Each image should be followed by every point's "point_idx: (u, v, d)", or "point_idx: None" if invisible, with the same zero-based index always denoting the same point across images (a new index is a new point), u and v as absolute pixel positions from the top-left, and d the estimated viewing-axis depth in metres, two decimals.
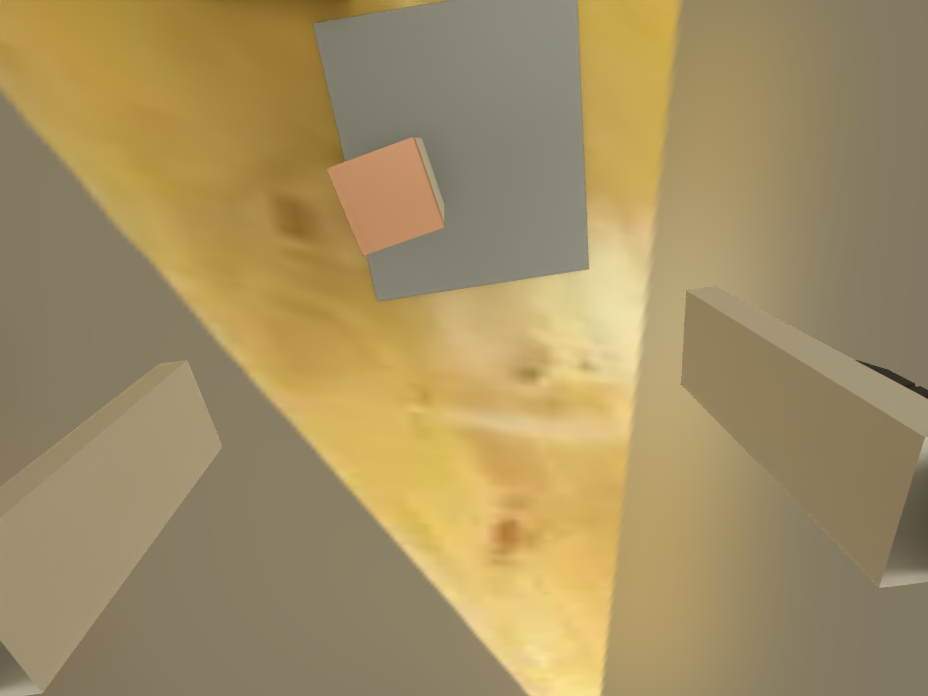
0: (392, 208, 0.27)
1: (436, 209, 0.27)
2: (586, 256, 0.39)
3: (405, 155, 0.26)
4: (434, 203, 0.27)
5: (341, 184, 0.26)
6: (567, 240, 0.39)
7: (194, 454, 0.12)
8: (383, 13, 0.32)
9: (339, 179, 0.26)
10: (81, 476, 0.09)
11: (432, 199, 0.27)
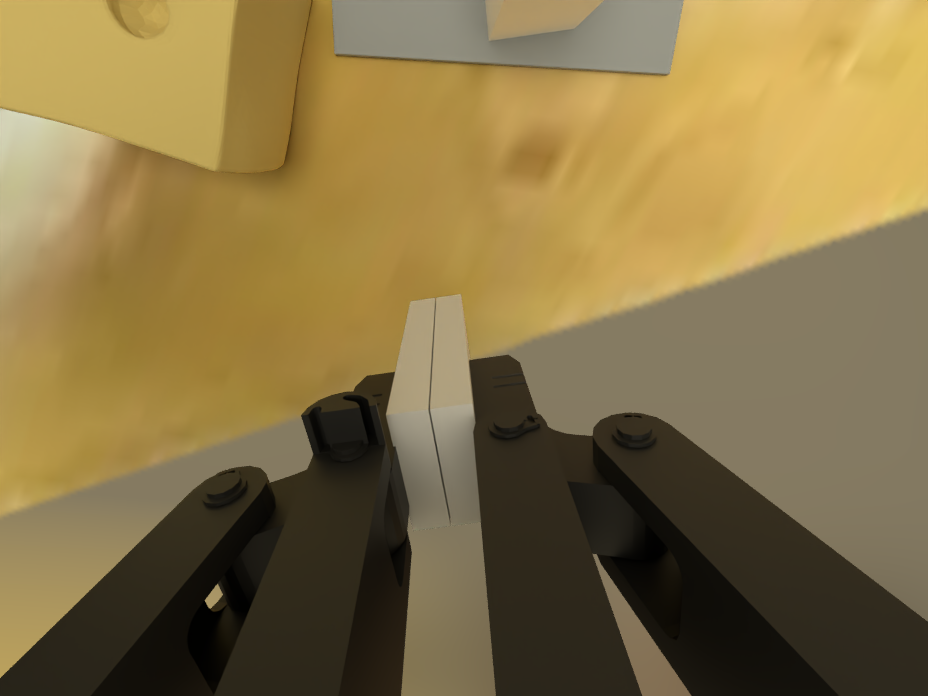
0: None
1: None
2: None
3: None
4: None
5: None
6: None
7: None
8: None
9: None
10: None
11: None
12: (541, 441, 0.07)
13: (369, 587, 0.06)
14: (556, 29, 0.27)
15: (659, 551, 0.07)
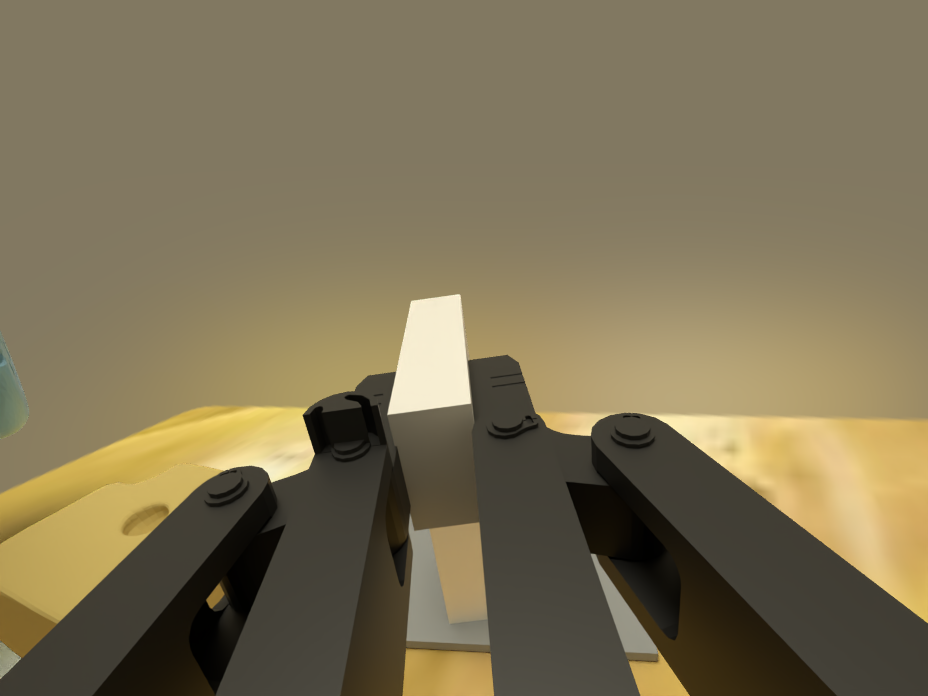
0: None
1: None
2: None
3: None
4: None
5: None
6: None
7: None
8: None
9: None
10: None
11: None
12: (540, 441, 0.07)
13: (370, 587, 0.06)
14: None
15: (657, 551, 0.07)
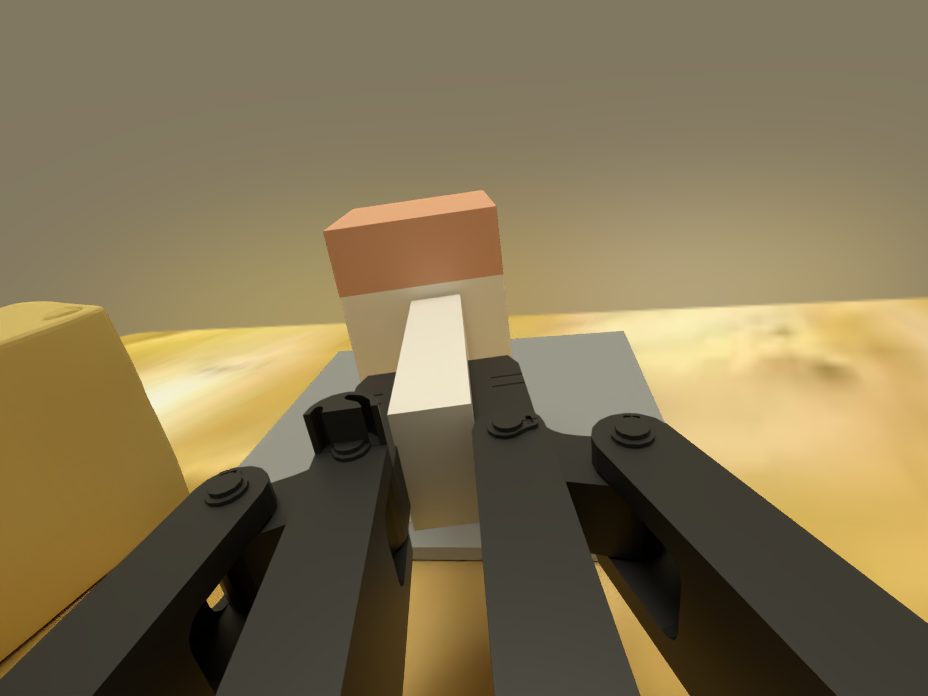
0: (431, 204, 0.16)
1: (454, 194, 0.18)
2: (606, 333, 0.31)
3: (369, 208, 0.18)
4: None
5: (359, 223, 0.14)
6: (584, 344, 0.30)
7: None
8: (240, 466, 0.23)
9: (350, 224, 0.14)
10: None
11: (439, 196, 0.18)
12: (539, 441, 0.07)
13: (371, 587, 0.06)
14: None
15: (657, 551, 0.07)
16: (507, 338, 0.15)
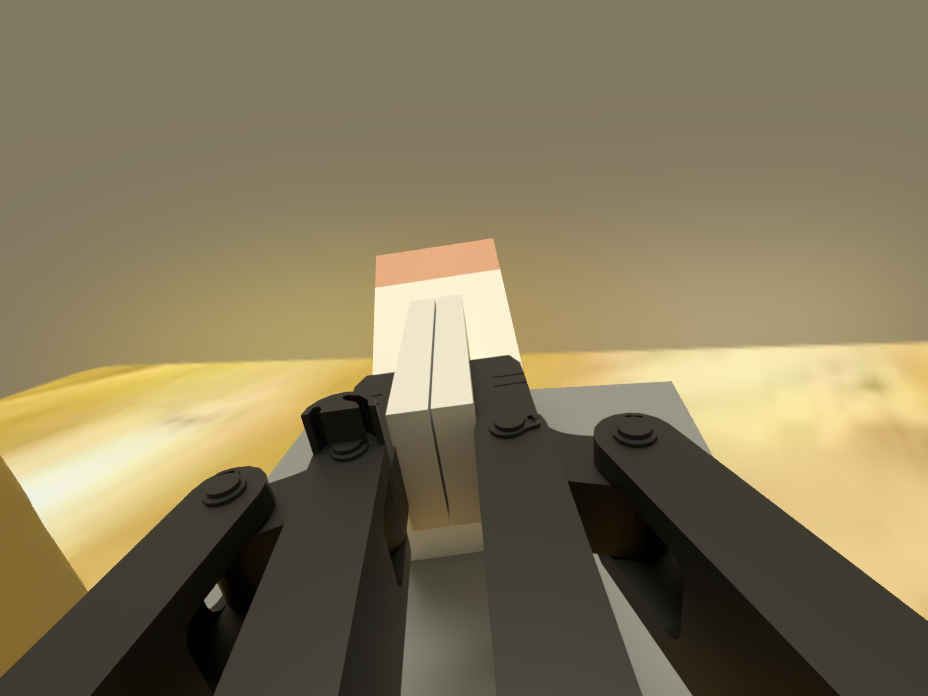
0: None
1: None
2: (650, 383, 0.26)
3: None
4: None
5: None
6: (625, 399, 0.25)
7: None
8: None
9: None
10: None
11: None
12: (541, 441, 0.07)
13: (369, 587, 0.06)
14: None
15: (660, 551, 0.07)
16: (506, 306, 0.17)
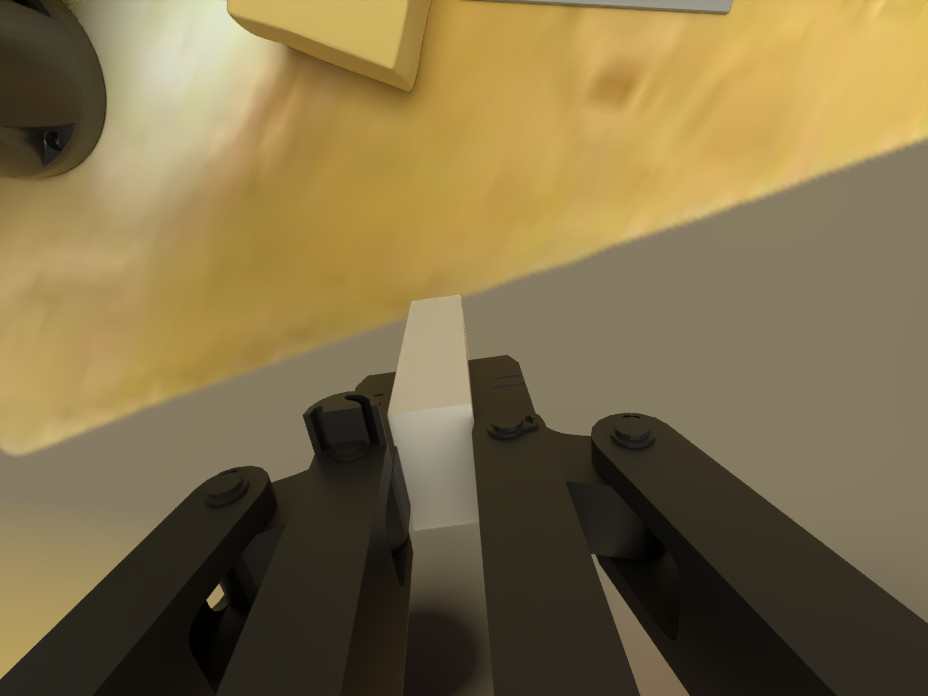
0: None
1: None
2: None
3: None
4: None
5: None
6: None
7: None
8: None
9: None
10: None
11: None
12: (540, 441, 0.07)
13: (371, 587, 0.06)
14: None
15: (658, 551, 0.07)
16: None
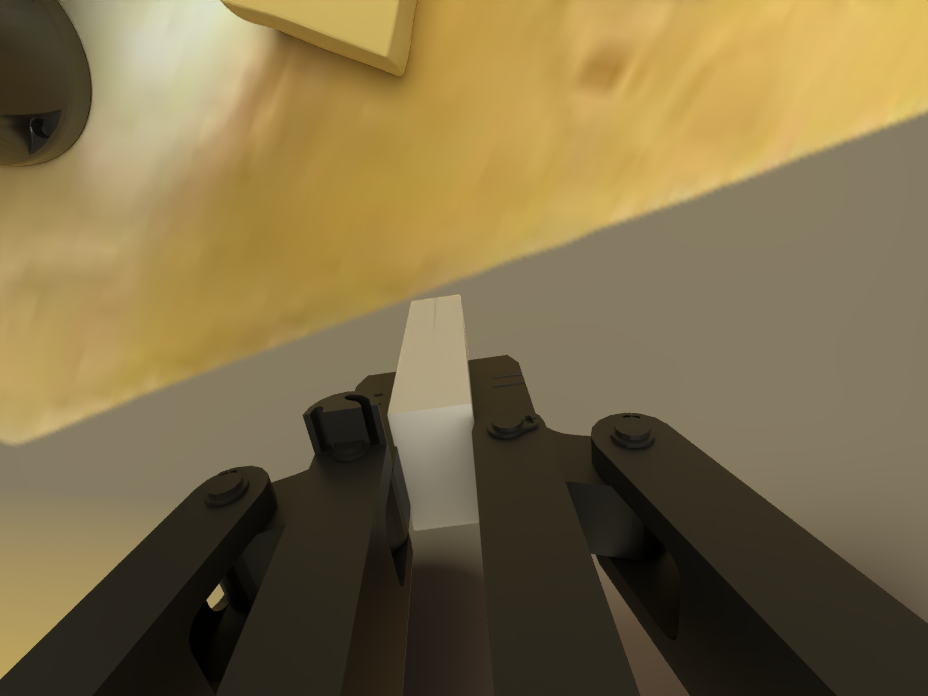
0: None
1: None
2: None
3: None
4: None
5: None
6: None
7: None
8: None
9: None
10: None
11: None
12: (539, 441, 0.07)
13: (370, 587, 0.06)
14: None
15: (658, 551, 0.07)
16: None
